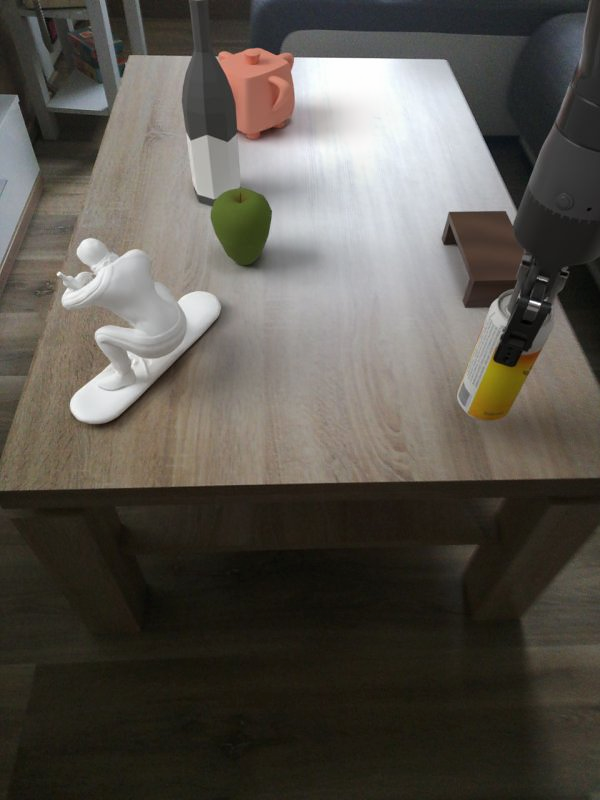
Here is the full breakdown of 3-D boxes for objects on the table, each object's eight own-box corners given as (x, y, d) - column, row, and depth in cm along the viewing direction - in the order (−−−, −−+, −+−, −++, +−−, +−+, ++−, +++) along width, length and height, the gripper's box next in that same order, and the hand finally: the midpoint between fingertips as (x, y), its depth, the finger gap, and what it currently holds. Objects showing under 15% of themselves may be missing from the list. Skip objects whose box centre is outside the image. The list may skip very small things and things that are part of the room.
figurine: (173, 283, 82) (151, 177, 68) (245, 317, 78) (237, 211, 64) (38, 400, 68) (-21, 297, 55) (118, 448, 64) (75, 349, 51)
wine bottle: (243, 181, 98) (231, -25, 74) (239, 208, 93) (224, -4, 70) (197, 179, 98) (170, -28, 74) (190, 206, 93) (159, -6, 70)
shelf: (525, 306, 81) (538, 279, 77) (465, 307, 80) (474, 280, 76) (495, 237, 90) (505, 210, 86) (441, 238, 90) (448, 211, 86)
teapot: (293, 106, 116) (294, 34, 105) (295, 145, 106) (296, 71, 96) (212, 105, 115) (205, 33, 105) (206, 145, 105) (198, 69, 95)
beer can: (519, 415, 64) (572, 320, 52) (473, 431, 62) (517, 337, 50) (489, 377, 67) (532, 280, 55) (445, 391, 66) (480, 294, 54)
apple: (272, 242, 88) (271, 174, 79) (272, 277, 83) (271, 210, 74) (217, 242, 88) (209, 174, 79) (214, 277, 83) (205, 209, 74)
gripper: (622, 254, 38) (535, 403, 51) (638, 155, 46) (559, 306, 59) (512, 225, 40) (455, 377, 53) (545, 135, 48) (489, 286, 61)
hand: (510, 339), depth 56 cm, fingers closed on beer can, 6 cm apart
